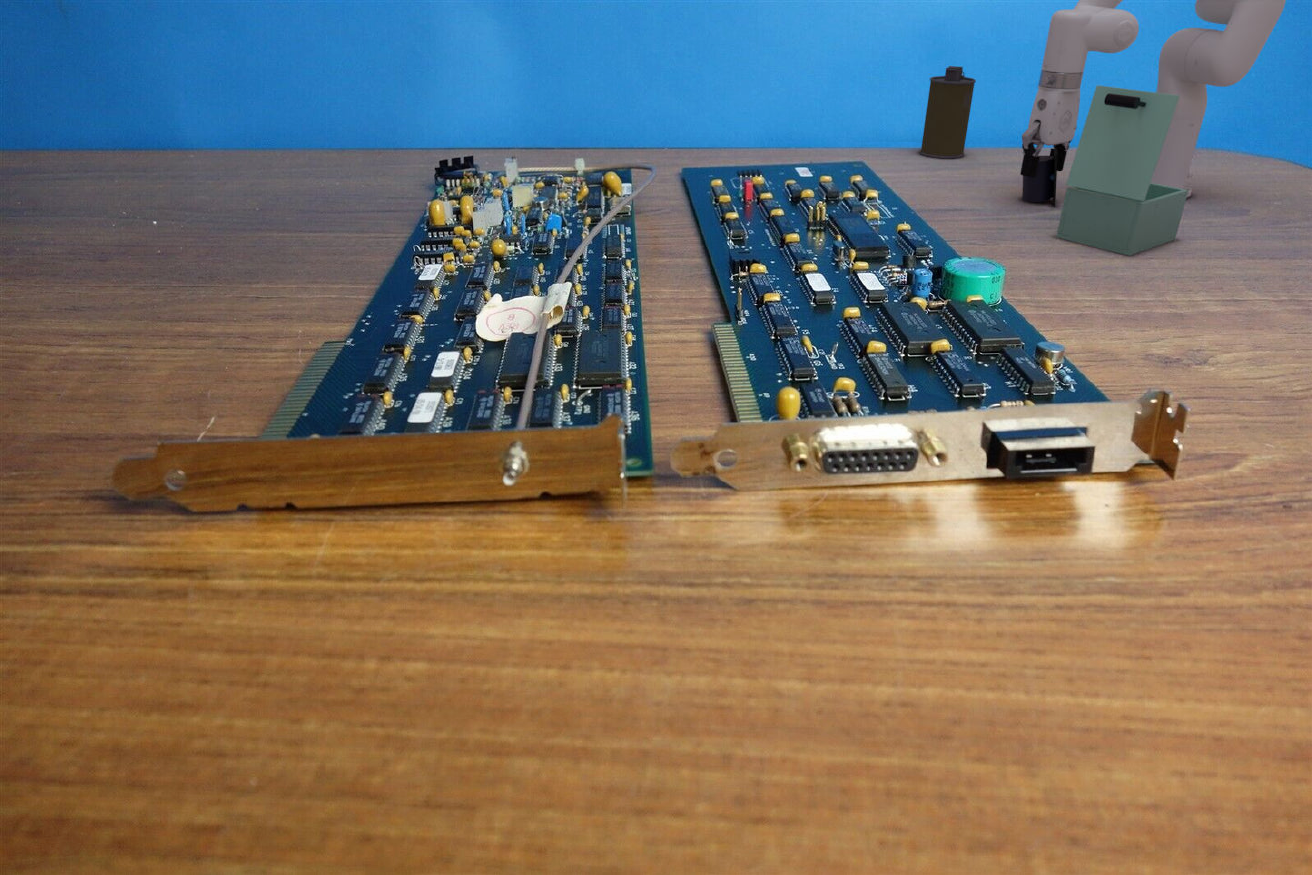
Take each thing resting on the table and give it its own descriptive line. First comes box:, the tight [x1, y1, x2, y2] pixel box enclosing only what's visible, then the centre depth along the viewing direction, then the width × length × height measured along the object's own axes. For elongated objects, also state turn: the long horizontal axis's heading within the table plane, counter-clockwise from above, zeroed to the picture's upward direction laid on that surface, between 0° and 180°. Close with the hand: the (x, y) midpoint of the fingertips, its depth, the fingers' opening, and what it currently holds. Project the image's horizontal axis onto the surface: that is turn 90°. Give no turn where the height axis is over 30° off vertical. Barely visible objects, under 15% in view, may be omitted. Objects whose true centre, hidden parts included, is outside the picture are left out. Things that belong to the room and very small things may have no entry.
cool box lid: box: [1066, 84, 1180, 201], centre depth 153 cm, size 16×14×5 cm
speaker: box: [1021, 148, 1058, 208], centre depth 187 cm, size 8×6×10 cm
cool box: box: [1056, 183, 1189, 257], centre depth 164 cm, size 16×14×9 cm
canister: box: [919, 65, 976, 160], centre depth 224 cm, size 11×10×20 cm
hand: (1041, 173), depth 186 cm, fingers open, 8 cm apart
